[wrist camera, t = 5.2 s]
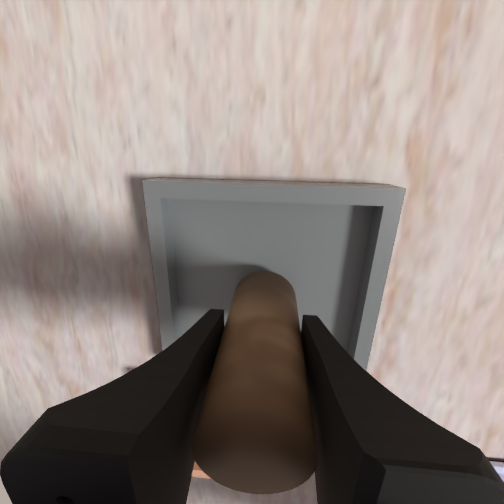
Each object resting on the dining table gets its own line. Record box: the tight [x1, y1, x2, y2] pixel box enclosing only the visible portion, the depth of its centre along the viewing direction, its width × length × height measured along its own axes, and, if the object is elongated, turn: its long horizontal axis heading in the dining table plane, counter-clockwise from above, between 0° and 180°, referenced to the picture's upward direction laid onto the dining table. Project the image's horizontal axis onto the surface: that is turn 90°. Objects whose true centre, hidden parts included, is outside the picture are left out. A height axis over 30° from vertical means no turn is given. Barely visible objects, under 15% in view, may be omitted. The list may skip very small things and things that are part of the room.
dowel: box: [191, 271, 318, 494], centre depth 11 cm, size 3×3×8 cm
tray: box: [142, 178, 406, 371], centre depth 15 cm, size 12×12×2 cm
